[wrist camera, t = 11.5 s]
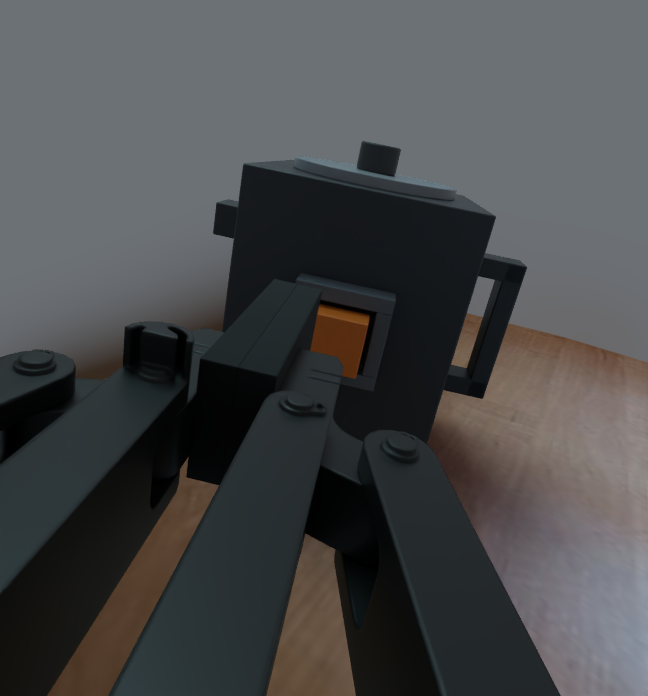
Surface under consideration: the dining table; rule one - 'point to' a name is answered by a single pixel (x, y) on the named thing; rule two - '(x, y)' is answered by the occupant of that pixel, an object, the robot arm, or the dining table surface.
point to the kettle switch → (341, 336)
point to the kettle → (375, 275)
